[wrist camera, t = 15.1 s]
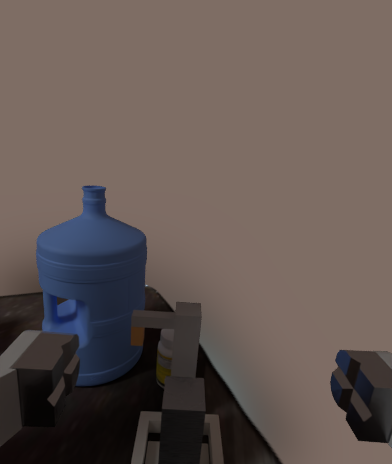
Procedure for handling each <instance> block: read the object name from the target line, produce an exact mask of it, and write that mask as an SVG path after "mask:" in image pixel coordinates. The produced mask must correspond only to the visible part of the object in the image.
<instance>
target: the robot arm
mask: <svg viewBox="0 0 392 464" xmlns="http://www.w3.org/2000/svg"><path fill="white" fill-rule="evenodd" d="M78 348H79V336H78V335H77V334H73V333H61V332H49V331H44V332H43V331H34V330H27V331H24V332H22V333H21V334H20V335H19V337H18V338H17V339H16V340H15V341H14V342H13V343H12V344H11V345H10V346H9V347H8V348H7V349H6V351H5V352H4V353H3V354H2V355H1V356H0V446H2V445H3V444H4V443H5V442H6V441H8V440H9V439H10V438H11V437H12V436H14V435H15V434H16V433H17V432H18V431H20V430H21V429H22V426H31V427H55V426H56V424H57V422H58V420H59V418H60V416H61V414H62V412H63V410H64V408H65V406H66V396H68V395H69V394H71V393H72V392H73V389H74V387H75V385H76V382H77V379H78V375H79V368H80V358H79V357H78V356H77V354H76V351H77V349H78ZM335 361H336V363H337V365H338V368H337V369H336V370H335V371H334V372H332V376H331V381H330V383H331V391H332V395H333V397H334V400H335V402H336V403H337V405H338V406H339V407H340V408H341V409H343V410H344V411H345V412H346V413H347V415H346V421H347V422H348V424H349V426H350V427H351V429H352V431H353V433H354V434H355V436H356V438H357V439H358V441H369V442H381V443H389V446H390V447H391V448H392V353H390V352H387V351H353V350H340V351H339V352H338V353H337V356H336V360H335Z"/></svg>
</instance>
